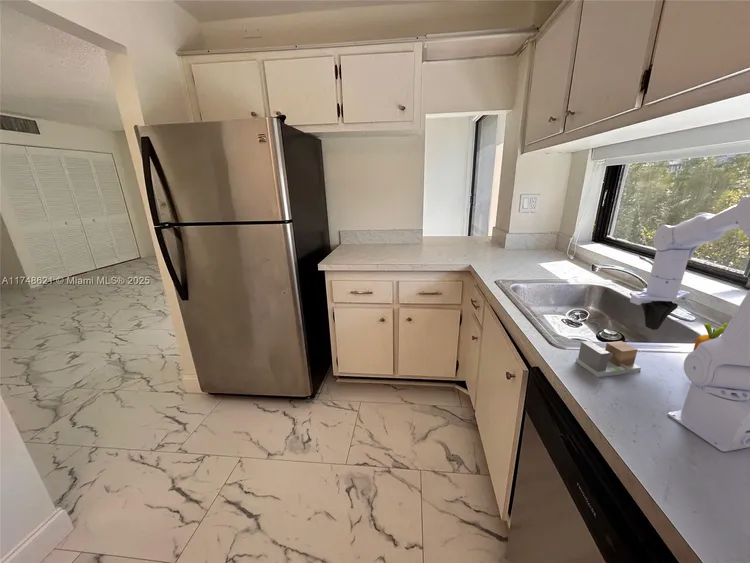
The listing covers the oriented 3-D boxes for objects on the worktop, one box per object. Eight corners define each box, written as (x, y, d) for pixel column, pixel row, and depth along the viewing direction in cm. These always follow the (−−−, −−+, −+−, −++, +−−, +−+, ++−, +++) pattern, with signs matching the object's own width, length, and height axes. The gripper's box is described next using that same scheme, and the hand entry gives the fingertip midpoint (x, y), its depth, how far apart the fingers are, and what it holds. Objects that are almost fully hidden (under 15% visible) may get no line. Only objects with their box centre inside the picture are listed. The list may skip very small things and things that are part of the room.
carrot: (683, 380, 74) (702, 323, 69) (684, 371, 77) (703, 316, 72) (713, 389, 70) (736, 330, 66) (713, 379, 74) (735, 322, 69)
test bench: (640, 371, 77) (646, 349, 75) (597, 377, 76) (603, 355, 74) (615, 356, 84) (620, 336, 82) (575, 361, 82) (579, 340, 80)
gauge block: (641, 369, 76) (645, 353, 75) (621, 372, 75) (625, 356, 74) (617, 355, 82) (621, 340, 81) (598, 358, 81) (602, 343, 80)
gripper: (673, 269, 79) (659, 318, 83) (624, 273, 77) (612, 323, 81) (706, 278, 72) (689, 330, 76) (652, 282, 70) (638, 336, 74)
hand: (651, 327), depth 78 cm, fingers closed
